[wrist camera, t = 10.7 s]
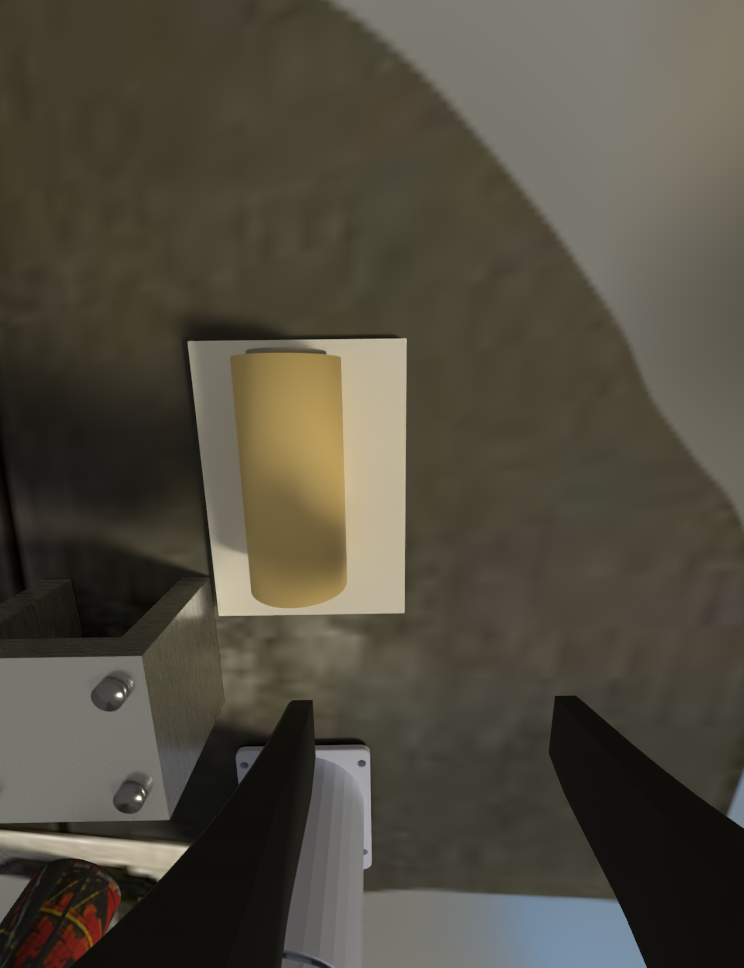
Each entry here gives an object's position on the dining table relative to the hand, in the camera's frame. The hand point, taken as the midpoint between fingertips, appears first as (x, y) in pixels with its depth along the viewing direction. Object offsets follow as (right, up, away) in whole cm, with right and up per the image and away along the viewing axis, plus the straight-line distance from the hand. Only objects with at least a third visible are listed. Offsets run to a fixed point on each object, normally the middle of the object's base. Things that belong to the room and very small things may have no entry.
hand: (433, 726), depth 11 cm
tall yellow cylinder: (-5, +8, +8) cm, 12 cm away
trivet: (-5, +7, +8) cm, 12 cm away
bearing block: (-15, -2, +10) cm, 18 cm away
